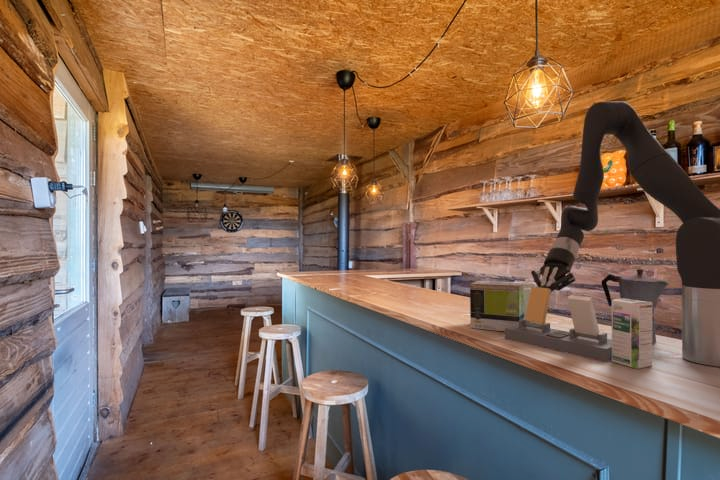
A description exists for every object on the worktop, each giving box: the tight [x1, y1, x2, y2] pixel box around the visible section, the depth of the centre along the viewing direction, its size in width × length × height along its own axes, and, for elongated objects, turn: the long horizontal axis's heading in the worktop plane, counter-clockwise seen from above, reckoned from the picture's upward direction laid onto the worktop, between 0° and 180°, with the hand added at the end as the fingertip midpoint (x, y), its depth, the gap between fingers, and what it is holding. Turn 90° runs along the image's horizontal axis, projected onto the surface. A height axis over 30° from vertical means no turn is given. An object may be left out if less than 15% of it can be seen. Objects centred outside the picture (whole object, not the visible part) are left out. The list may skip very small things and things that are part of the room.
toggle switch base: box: [504, 319, 612, 363], centre depth 100 cm, size 26×10×5 cm, turn 36°
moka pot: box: [601, 268, 670, 345], centre depth 105 cm, size 10×15×20 cm, turn 53°
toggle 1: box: [524, 286, 552, 329], centre depth 107 cm, size 5×2×12 cm, turn 36°
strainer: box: [519, 278, 537, 322], centre depth 127 cm, size 7×7×15 cm
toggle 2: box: [567, 294, 600, 340], centre depth 93 cm, size 5×2×12 cm, turn 36°
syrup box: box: [611, 298, 653, 370], centre depth 85 cm, size 6×6×14 cm
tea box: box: [469, 280, 525, 332], centre depth 121 cm, size 15×10×15 cm, turn 58°
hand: (541, 298), depth 108 cm, fingers closed
